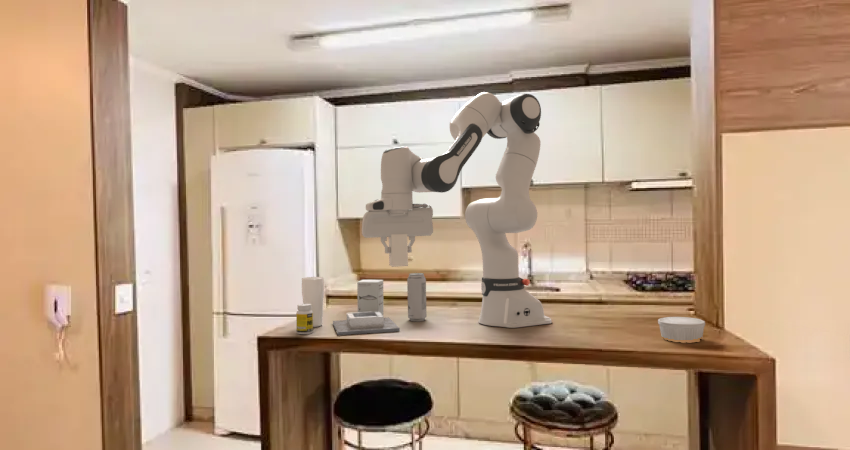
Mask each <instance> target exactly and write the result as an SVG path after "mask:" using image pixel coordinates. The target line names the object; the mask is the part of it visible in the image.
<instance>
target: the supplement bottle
mask: <svg viewBox="0 0 850 450" xmlns="http://www.w3.org/2000/svg"><path fill="white" fill-rule="evenodd" d="M295 316H296V317H295V318H296V320H295V321H296V334H298V335H310V334H312V333H314V327H313V312H312V310H311V304H303V303H298V304H297V311H296V315H295Z"/></svg>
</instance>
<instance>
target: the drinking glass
mask: <svg viewBox="0 0 850 450" xmlns="http://www.w3.org/2000/svg"><path fill="white" fill-rule="evenodd" d="M324 279H325V278H324V277H323V276H311V277H310V276H307V277H302V278H301V295H302V296H301V297H302V304H311V310H312V312H313V328H317V327H322V325H323V312H324V296H325V295H324V293H325V284H324V283H325V281H324Z"/></svg>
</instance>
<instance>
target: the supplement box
mask: <svg viewBox="0 0 850 450" xmlns="http://www.w3.org/2000/svg"><path fill="white" fill-rule="evenodd" d="M356 290H357V295H356V297H357V312H369V311H379V312H380V313H381V314H382V315H383V316H384V279H360V280H359V281H357V289H356Z"/></svg>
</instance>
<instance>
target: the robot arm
mask: <svg viewBox="0 0 850 450" xmlns="http://www.w3.org/2000/svg"><path fill="white" fill-rule="evenodd" d="M541 116H542V108H541V104H540V102H539V100H538V99H537V97H536V96H534V95H533V94H530V93H520V94H518V95H515V96H514V97H511V98H509V99H506V100H504V101H502V102H500V100H499V98H498V97H497V96H496V95H494V94H493V93H491V92H485V91H483V92H480V93H478V94H477V95H476V96H474V97H472V98H471V99H470V100H469V101H467V102H466V103H465V104H464V105H463V106H462V107H460V109H459V110H458V111H457V112H456V113H455V115H454V116H453V117H452V118H451V121H450V122H449V132H450V134H451V137H452V138H453V140H454V141H453V143H452V144H451V145H450V146H449V147H448V149H447V150H446V151H445V152H444V153H442V154H440V155H437V156H433V157H427V158H423V157H420V156H419V155H417V154H416V153H414V152H413V151H412V150H411V149H410V148H409V146H397V147H392V148H388V149H386V150H384V151H383V153H382V155H381V161H380V180H381V184H382V186H381V187H382V188H381V196H380V199H375V200H373V201H369V202H368V203H366V204H365V210H366V212H364V214H363V216H362V223H361V235H362V236H363V237H364V238H366V239H367V238H371V239H372V238H380V242H381V244H382V246H383V247H384V254H389V253H391V247H389V245H387V243H386V242H387V240H388V238H389V237H391V234H407V237H408V240H409V243H408V244H407V246H408V253H412V246H413V245H414V243H415V241H416V237H424V236H425V237H426V236H428V237H429V236H432V235H433V233H434V226H433V225H434V224H433V219H432V218H433V216H434V209H433V207H432V206H431V205H429V204H428V203H413V202H414V201H413V192H414V193H447V192H449V191H451V190H452V189H453V188H454V187H455V186H456V183H457V182H458V179H459V175H460V173H461V171H462V170H463V167H464V166H465V164H467V162H468V160H469V159H470V158H471V157H472V155H473V154H474V153H475V151H476V150H477V148H478V147H479V146H480V144H481V142H482V140H483V137H484V136H485V135H486V134H488V136H490V137H491V138H493V139H497V140H498V139H499V140H501V139H506V140H507V143H506V148H505V151H504V153H503V155H502V157H501V160H500V163H499V166H498V168H497V171H496V174H495V181H496V184H497V185H498V187H500V189H501V192H500V195H499V196H498V197H488V198H487V197H486V198H480V199H476V200H474V201H472V202H470V203H469V204H468V205H467V207H466V209H465V213H464V219H465V220H464V221H465V223H466V225H467V226H468V228H469V229H471V230H472V232H473V233H474V235H475V237H476V238H477V241H478V243H479V247H480V251H481V259H482V277H481V295H482V301H481V308H480V309H481V310H480V314H479V318H478V323H479V324H481V325H485V326H490V327H491V326H492V327H503V328H508V329H509V328H510V329H514V328H523V327H531V326H538V325H539V326H540V325H549V324H552V318H551V317H549V316H547V315H545V312H544V306H543V304H542V301H540V300H539V299H538V298H537V297H535V296H534V295H533V294H532V293H530V291H528V290H526V289H525V286H526V287H528V286H530V284H531V281H530V279H529V278H522V277H520V276H519V274H520V273H519V267H520V266H519V252H518V251H517V249H516V248H515V247H514V246H512V245H511V243H510V242H509V240H508V237H507V235H506V234H519V233H523V232H526V231H529V230H531V229H533V228H534V226H535V225H536V223H537V219H538V210H537V207H536V205H535V203H534V202H533V200H531V197H530V187H531V183H532V179H533V176H534V173H535V170H536V167H537V164H538V160H539V157H540V150H541V139H540V137H539V136H538V134H537V133H535V132H537V130H538V129H539V127H540V121H541V118H542V117H541Z"/></svg>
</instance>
